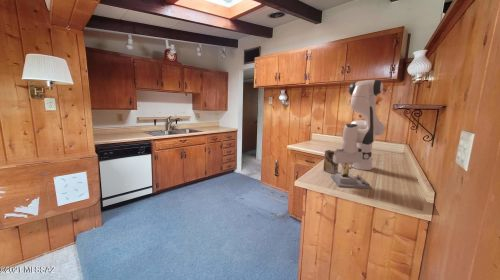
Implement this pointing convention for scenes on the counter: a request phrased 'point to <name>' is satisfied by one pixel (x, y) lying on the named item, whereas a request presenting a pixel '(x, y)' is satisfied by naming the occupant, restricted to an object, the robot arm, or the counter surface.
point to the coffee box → (330, 162)
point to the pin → (346, 170)
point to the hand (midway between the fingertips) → (346, 169)
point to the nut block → (350, 181)
